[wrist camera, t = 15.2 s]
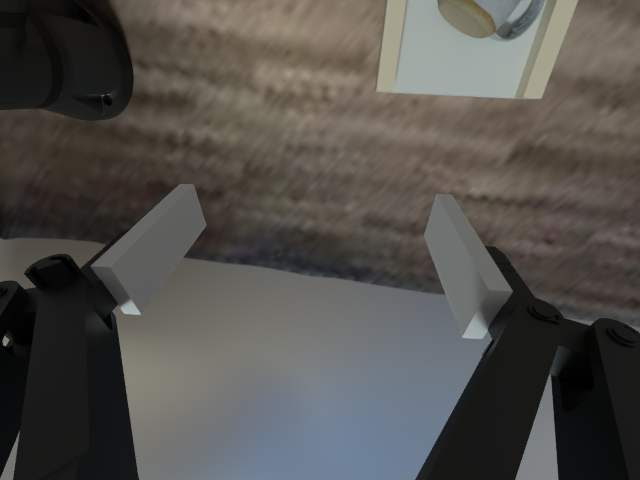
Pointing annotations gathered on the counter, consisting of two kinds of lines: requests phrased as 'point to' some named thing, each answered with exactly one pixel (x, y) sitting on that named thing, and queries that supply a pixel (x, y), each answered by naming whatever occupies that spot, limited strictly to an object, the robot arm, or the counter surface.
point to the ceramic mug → (487, 17)
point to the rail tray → (468, 52)
